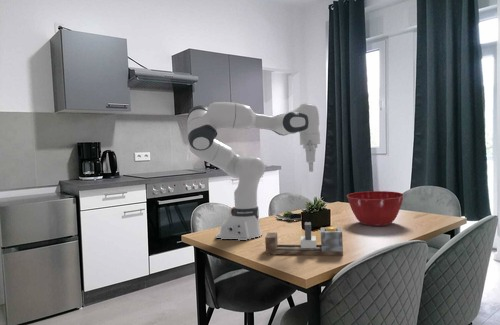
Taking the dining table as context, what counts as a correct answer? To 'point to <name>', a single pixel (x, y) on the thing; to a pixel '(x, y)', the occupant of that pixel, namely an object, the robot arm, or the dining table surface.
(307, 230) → the carriage
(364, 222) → the mixing bowl
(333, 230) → the gauge button
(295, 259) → the dining table surface
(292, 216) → the salad plate
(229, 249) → the dining table surface
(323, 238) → the rail base
